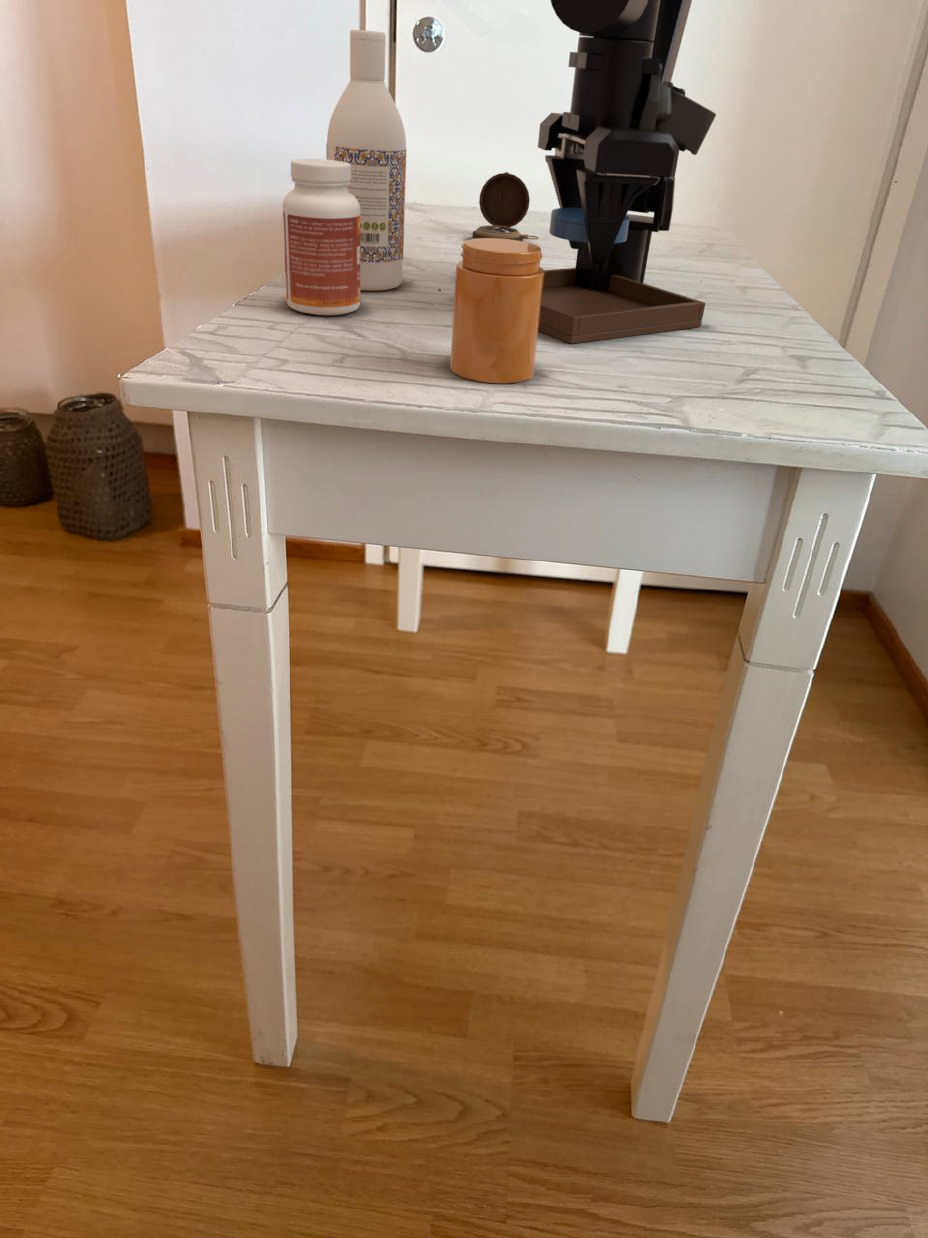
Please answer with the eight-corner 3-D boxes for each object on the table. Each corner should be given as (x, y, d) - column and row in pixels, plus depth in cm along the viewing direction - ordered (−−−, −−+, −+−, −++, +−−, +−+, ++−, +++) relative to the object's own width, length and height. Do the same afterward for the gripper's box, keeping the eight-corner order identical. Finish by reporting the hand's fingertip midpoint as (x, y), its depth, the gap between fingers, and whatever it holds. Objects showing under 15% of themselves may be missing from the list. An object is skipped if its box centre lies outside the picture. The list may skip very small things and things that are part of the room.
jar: (493, 353, 68) (503, 234, 63) (550, 375, 64) (566, 250, 59) (432, 365, 64) (439, 239, 60) (490, 388, 60) (501, 256, 56)
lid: (562, 225, 79) (565, 204, 78) (634, 235, 77) (638, 214, 76) (539, 235, 74) (541, 213, 73) (615, 247, 72) (619, 224, 71)
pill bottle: (373, 313, 75) (375, 166, 69) (306, 319, 72) (302, 166, 66) (339, 296, 79) (338, 156, 73) (274, 301, 76) (268, 156, 70)
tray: (587, 288, 89) (590, 266, 88) (701, 326, 79) (706, 302, 78) (462, 299, 82) (464, 275, 80) (570, 343, 71) (574, 317, 70)
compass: (468, 243, 106) (473, 175, 102) (478, 233, 113) (482, 168, 109) (535, 250, 105) (542, 182, 101) (541, 239, 112) (548, 175, 108)
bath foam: (413, 290, 83) (423, 34, 73) (343, 293, 80) (342, 27, 70) (386, 274, 88) (391, 33, 78) (318, 276, 86) (314, 26, 75)
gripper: (768, 49, 62) (718, 284, 70) (671, 46, 77) (640, 239, 86) (615, 36, 60) (582, 279, 68) (547, 36, 75) (527, 234, 84)
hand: (587, 256), depth 77 cm, fingers closed on lid, 6 cm apart
